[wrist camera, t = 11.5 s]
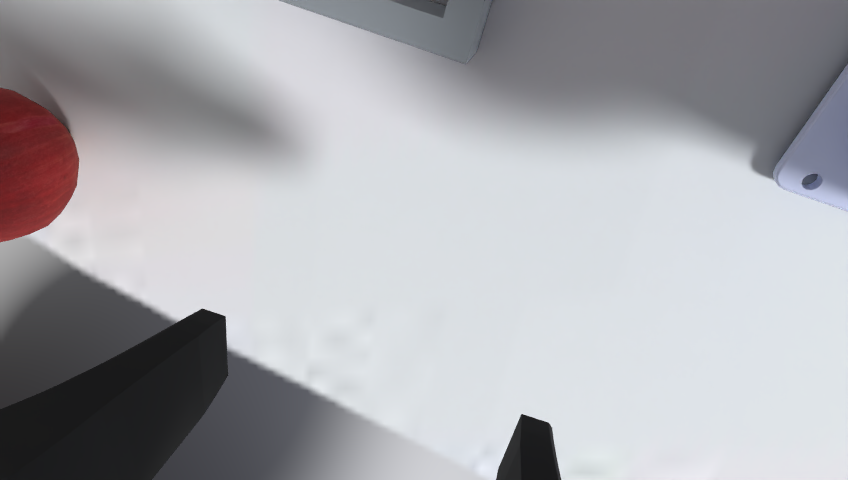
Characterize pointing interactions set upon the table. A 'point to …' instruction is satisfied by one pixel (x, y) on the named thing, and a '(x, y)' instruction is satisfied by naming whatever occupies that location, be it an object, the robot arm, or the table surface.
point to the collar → (413, 22)
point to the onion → (32, 166)
